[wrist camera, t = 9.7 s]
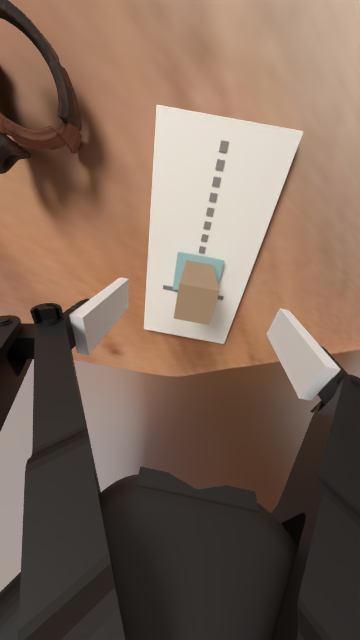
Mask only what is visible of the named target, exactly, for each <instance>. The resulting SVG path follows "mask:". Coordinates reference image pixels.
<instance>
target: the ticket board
mask: <svg viewBox="0 0 360 640" xmlns="http://www.w3.org/2000/svg"><path fill="white" fill-rule="evenodd" d="M302 134H303V131H299V130H293V129H288V128H282V127H277V126H271V125H266V124H260V123H255V122H249V121H244V120H238V119H233V118H227V117H222V116H216V115H211V114H205V113H200V112H194V111H189V110H183V109H178V108H172V107H167V106H161V105H157V109H156V127H155V144H154V161H153V179H152V196H151V214H150V231H149V248H148V266H147V283H146V300H145V318H144V329H147V330H152V331H157V332H162V333H168V334H173V335H178V336H184V337H189V338H194V339H200V340H205V341H210V342H216V343H221V344H224V343H225V340H226V337H227V335H228V332H229V329H230V327H231V324H232V321H233V319H234V316H235V313H236V311H237V308H238V305H239V303H240V300H241V297H242V295H243V292H244V289H245V287H246V284H247V281H248V279H249V276H250V273H251V271H252V268H253V265H254V263H255V260H256V257H257V254H258V252H259V249H260V246H261V244H262V241H263V238H264V236H265V233H266V230H267V228H268V225H269V222H270V220H271V217H272V214H273V212H274V209H275V206H276V204H277V201H278V198H279V196H280V193H281V190H282V188H283V185H284V182H285V180H286V177H287V174H288V171H289V169H290V166H291V163H292V161H293V158H294V155H295V153H296V150H297V147H298V145H299V142H300V139H301V137H302ZM178 252H184V253H189V254H195V255H200V256H205V257H211V258H216V259H221V260H224V264H223V268H222V271H221V275H220V279H219V282H218V286H219V290H220V292H219V296H218V299H217V302H216V306H215V309H214V312H213V316H212V319H211V323H210V325H206V324H200V323H195V322H190V321H184V320H179V319H174V312H175V306H176V300H177V294H178V290H174V289H173V282H174V275H175V268H176V261H177V254H178Z"/></svg>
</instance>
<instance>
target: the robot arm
mask: <svg viewBox="0 0 360 640" xmlns="http://www.w3.org/2000/svg"><path fill="white" fill-rule="evenodd" d="M128 307H129V279H126V278H118V279H117V280H116V281H114V282H113V283H112V284H110V285H109V286H108V287H106V288H105V289H104V290H102V291H101V292H99V293H98V294H97V295H95V296H94V297H93V298H91V299H85V300H82V301H79V302H78V303H77V304H75V305H74V306H72V307H71V308H69V309H68V310H66V311H65V312H64V313H62V308H61V306H60V305H58V304H54V303H45V304H40V305H37V306H35V307H33V308H32V309H31V310H30V312H31V315H32V318H33V320H34V323H35V324H22V323H21V321H20V318H19V317H17V316H11V315H8V316H0V431H1V429H2V426H3V424H4V422H5V420H6V417H7V415H8V413H9V411H10V409H11V406H12V404H13V402H14V400H15V397H16V395H17V393H18V391H19V388H20V386H21V384H22V382H23V379H24V377H25V375H26V373H27V370H28V368H29V366H30V364H31V361H32V359H34V401H33V403H34V404H33V451H32V456H31V457H30V458H29V459H28V461H27V464H26V471H25V490H24V515H23V538H22V560H21V561H22V562H21V572H20V573H19V574H18V575H17V576H16V577H15V578H14V579H13V580H12V581H11V582H10V583H9V584H8V585H7V586H6V587H5V588H4V589H3V590H2V591H1V592H0V640H360V378H358V377H356V376H353V375H348V374H347V373H346V371H345V370H344V369H343V368H342V367H341V366H340V365H339V364H338V362H337V361H335V359H334V358H333V357H332V356H331V355H330V354H329V352H328V351H327V350H326V349H325V348H323V347H322V346H320V345H319V344H318V343H317V342H316V341H315V340H314V338H313V337H312V336H311V335H310V334H309V333H308V332H307V330H306V329H305V328H304V327H303V326H302V325H301V324H300V322H299V321H298V320H297V319H296V318H295V317H294V316H293V314H292V313H291V312H290V311H289V310H285V309H279V311H278V313H277V315H276V317H275V319H274V321H273V323H272V324H271V326H270V328H269V330H268V332H267V334H266V335H267V337H268V339H269V341H270V343H271V345H272V346H273V348H274V350H275V352H276V354H277V356H278V358H279V360H280V362H281V364H282V366H283V368H284V370H285V372H286V374H287V376H288V378H289V380H290V381H291V383H292V385H293V387H294V389H295V391H296V393H297V395H298V397H299V398H300V399H305V400H310V401H312V400H313V399H314V398H315V397H316V396H317V395H319V397H320V399H321V401H320V402H319V403H318V404H317V405H316V406H315V407H314V409H312V410H311V412H312V413H313V412H314V411H315V412H314V415H313V417H312V419H311V422H310V424H309V427H308V429H307V432H306V435H305V437H304V439H303V442H302V444H301V447H300V449H299V452H298V455H297V457H296V460H295V462H294V465H293V467H292V470H291V472H290V475H289V477H288V480H287V482H286V485H285V487H284V490H283V492H282V495H281V497H280V500H279V502H278V504H277V506H276V507H275V509H274V510H273V511H272V512H271V513H270V512H269V511H268V510H267V509H266V508H264V507H263V506H262V505H260V504H259V503H257V500H256V494H255V492H254V491H250V490H245V489H240V488H236V487H231V486H227V485H226V486H220V487H212V488H207V489H195V488H193V487H192V486H190V485H188V484H187V483H185V482H183V481H181V480H180V479H178V478H176V477H174V476H173V475H171V474H170V473H167V472H163V471H158V470H154V469H149V468H145V467H140V471H139V474H138V475H132V476H128V477H125V478H123V479H120V480H118V481H116V482H115V483H113V484H112V485H110V486H109V487H107V488H106V489H105V490H103V491H102V492H100V487H99V482H98V478H97V473H96V468H95V464H94V459H93V454H92V449H91V444H90V439H89V434H88V429H87V425H86V420H85V416H84V410H83V405H82V401H81V395H80V390H79V385H78V380H77V376H76V371H75V366H74V361H73V356H72V351H71V350H72V349H73V348H74V347H75V346H76V350H77V353H81V354H86V355H89V354H90V353H91V352H92V351H93V350H94V348H95V347H96V346H97V345H98V344H99V342H100V341H101V340H102V339H103V337H104V336H105V335H106V334H107V333H108V331H109V330H110V329H111V328H112V327H113V325H114V324H115V323H116V322H117V321H118V319H119V318H120V317H121V316H122V314H123V313H124V312H125V311H126V310H127V308H128Z"/></svg>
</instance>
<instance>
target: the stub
mask: <svg viewBox="0 0 360 640" xmlns="http://www.w3.org/2000/svg"><path fill="white" fill-rule="evenodd" d="M223 264H224V260H221V259H216V258H211V257H205V256H200V255H195V254H189V253H184V252H178V254H177V261H176V268H175V275H174V282H173V289H174V290H178V294H177V300H176V306H175V312H174V319H179V320H184V321H190V322H195V323H200V324H206V325H210V323H211V319H212V316H213V312H214V309H215V306H216V302H217V299H218V296H219V292H220V290H219V286H218V282H219V279H220V275H221V271H222V268H223Z"/></svg>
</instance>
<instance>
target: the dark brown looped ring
mask: <svg viewBox="0 0 360 640" xmlns="http://www.w3.org/2000/svg"><path fill="white" fill-rule="evenodd" d="M0 18H2V19H5V20H6V21H8V22H10V23H11V24H13V25H14V26H15V27H17V28H18V29H19V30H20V31H22V32H23V33H24V34H25V35H26V36H27V37H28V38H29V39H30V40H31V41H32V42H33V44H34V45H35V46H36V47H37V49H38V50H39V51H40V53H41V54H42V56H43V57H44V59H45V61H46V62H47V64H48V66H49V68H50V70H51V73H52V75H53V78H54V81H55V83H56V87H57V92H58V101H59V107H58V116H59V117H60V118H61V119H62V123H61V124H60V127H59V128H58V129H57V130H54V129H53V128H52V127H51V126H48V127H46V128H43V129H39V130H33V129H28V128H25V127H22V126H20V125H18V124H16V123H14V122H13V121H11V120H9V119H7V118H6V117H5V116H4V115H3V114H1V113H0V174H3V173H6V172H7V171H8V170H9V169H10V168H11V167H12V166H13V165H14V164H15V163H16V162H17V161H18V160H19V159H25V158H27V159H29V158H31V154H30V153H29V152H28V151H26V150H25V149H23V148H22V147H25V148H30V149H36V150H53V149H58V148H60V147H62V146H64V145H65V144H66V145H67V146H68V147H69V149H70V151H71V153H74V154H75V153H76V152H77V150H78V148H79V146H80V144H81V134H80V133H79V131H81V119H80V113H79V109H78V104H77V100H76V96H75V93H74V89H73V87H72V84H71V81H70V79H69V76H68V74H67V72H66V70H65V68H63V67H62V66H61V65H60V62H59V58H58V56H57V54H56V52H55V51H54V49H53V48H52V46H51V45H50V43H49V42H48V41H47V40H46V39H45V37H44V36H43V35H42V34H41V33H40V31H39V30H38V29H37V28H36V26H35V25H34V24H33V23H32V22H31V20H30V19H28V17H26V15H25V14H24V13H23V12H22V11H21V10H19V9H18V8H17V7H15V6H14V5H13V4H12V3H11V2H10V1H8V0H0ZM7 135H9V136H13V137H14V138H15V140H16V142H17V143H16V142H14V141H13V140H11V139H10V138H9V137H8V136H7Z"/></svg>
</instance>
